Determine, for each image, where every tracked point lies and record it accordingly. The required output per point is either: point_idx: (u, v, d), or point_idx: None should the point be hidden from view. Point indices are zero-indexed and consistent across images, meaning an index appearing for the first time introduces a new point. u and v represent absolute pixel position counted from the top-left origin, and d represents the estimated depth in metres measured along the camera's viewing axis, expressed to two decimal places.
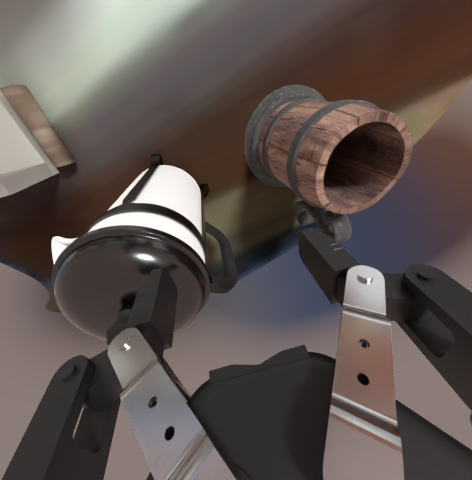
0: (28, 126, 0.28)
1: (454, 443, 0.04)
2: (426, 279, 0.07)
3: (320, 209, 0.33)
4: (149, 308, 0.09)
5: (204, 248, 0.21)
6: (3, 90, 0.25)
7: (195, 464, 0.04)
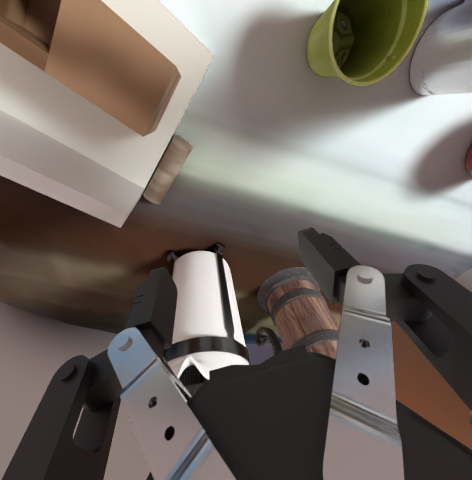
0: (160, 163, 0.28)
1: (454, 443, 0.04)
2: (426, 279, 0.07)
3: None
4: (149, 308, 0.09)
5: None
6: (175, 137, 0.27)
7: (195, 464, 0.04)
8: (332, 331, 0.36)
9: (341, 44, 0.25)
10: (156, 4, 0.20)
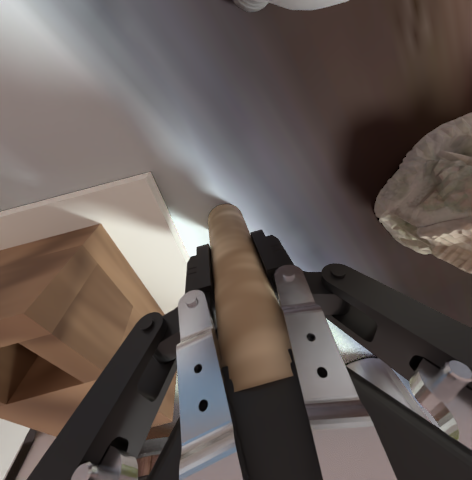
0: None
1: (454, 443, 0.04)
2: (339, 277, 0.08)
3: None
4: (206, 276, 0.10)
5: None
6: None
7: (215, 452, 0.04)
8: None
9: None
10: None
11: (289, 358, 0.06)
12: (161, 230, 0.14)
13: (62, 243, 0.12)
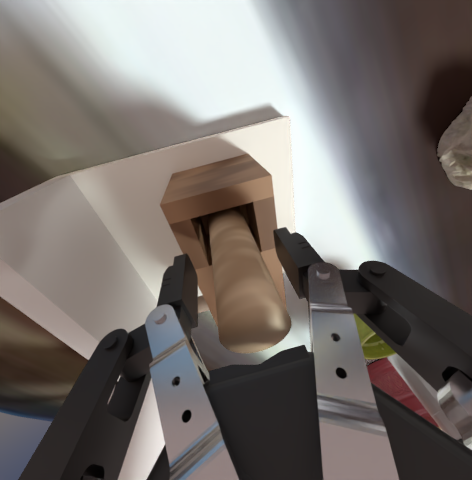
0: None
1: (454, 443, 0.04)
2: (377, 275, 0.07)
3: None
4: (178, 288, 0.09)
5: None
6: None
7: (205, 456, 0.04)
8: None
9: None
10: (291, 228, 0.23)
11: (272, 297, 0.07)
12: (285, 162, 0.19)
13: (232, 162, 0.17)
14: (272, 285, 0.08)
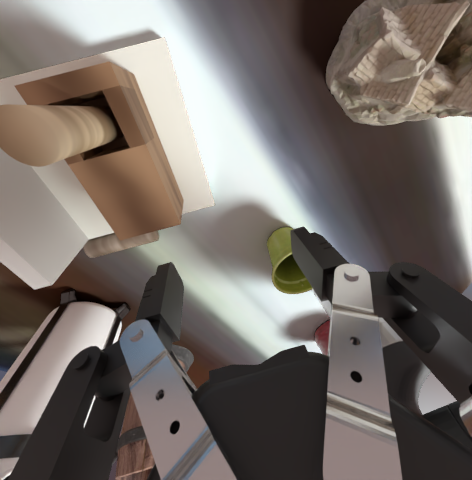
0: None
1: (454, 443, 0.04)
2: (410, 277, 0.07)
3: None
4: (158, 301, 0.09)
5: None
6: None
7: (198, 461, 0.04)
8: None
9: None
10: (197, 159, 0.25)
11: (32, 109, 0.10)
12: (173, 85, 0.21)
13: None
14: (51, 113, 0.11)
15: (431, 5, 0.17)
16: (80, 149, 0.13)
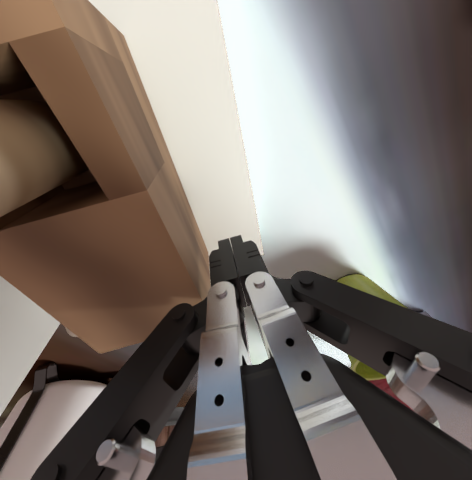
0: None
1: (454, 443, 0.04)
2: (308, 285, 0.08)
3: None
4: (231, 268, 0.10)
5: None
6: None
7: (225, 451, 0.04)
8: None
9: None
10: (246, 188, 0.15)
11: None
12: (216, 56, 0.11)
13: None
14: None
15: None
16: None
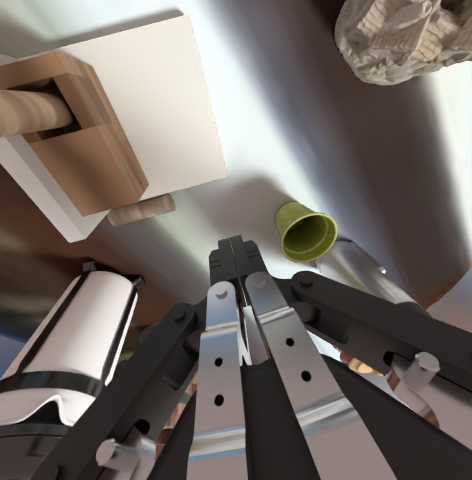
0: (142, 202, 0.32)
1: (454, 443, 0.04)
2: (308, 284, 0.08)
3: None
4: (231, 268, 0.10)
5: None
6: (166, 196, 0.32)
7: (225, 451, 0.04)
8: (184, 394, 0.42)
9: None
10: (214, 130, 0.28)
11: None
12: (195, 59, 0.24)
13: None
14: None
15: None
16: (30, 127, 0.15)
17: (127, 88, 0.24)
